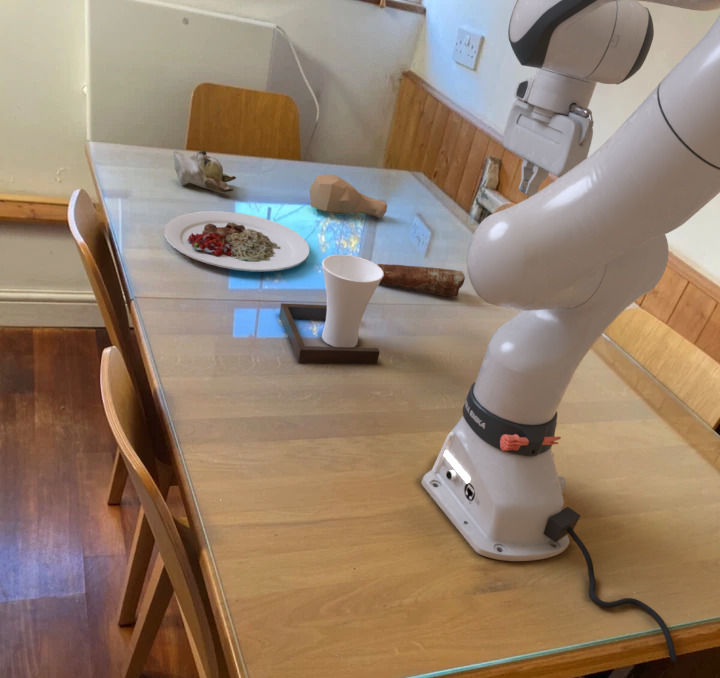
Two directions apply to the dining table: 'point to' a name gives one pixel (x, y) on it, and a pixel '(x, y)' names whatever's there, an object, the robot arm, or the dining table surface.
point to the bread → (423, 279)
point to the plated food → (236, 241)
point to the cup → (347, 296)
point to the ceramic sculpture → (201, 171)
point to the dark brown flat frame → (316, 352)
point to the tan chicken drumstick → (342, 198)
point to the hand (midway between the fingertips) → (526, 193)
